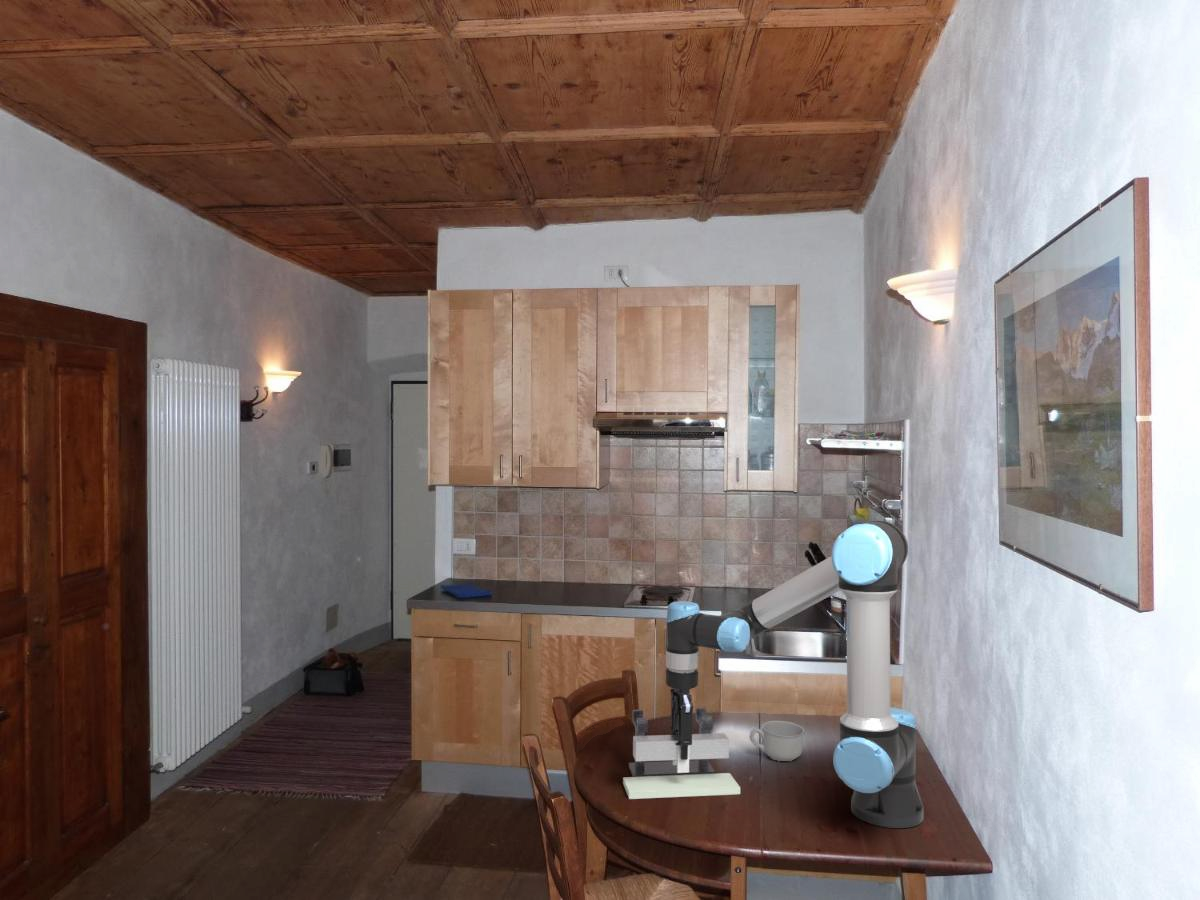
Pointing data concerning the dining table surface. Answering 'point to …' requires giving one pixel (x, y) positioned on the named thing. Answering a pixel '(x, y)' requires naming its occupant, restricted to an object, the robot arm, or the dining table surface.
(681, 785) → the board
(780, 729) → the teacup
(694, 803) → the dining table surface
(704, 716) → the hook stand
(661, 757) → the rail bar
